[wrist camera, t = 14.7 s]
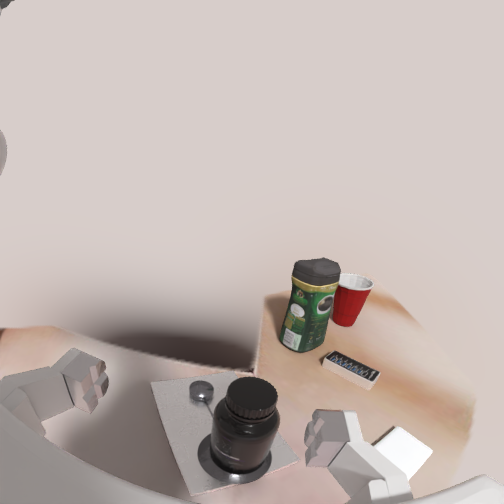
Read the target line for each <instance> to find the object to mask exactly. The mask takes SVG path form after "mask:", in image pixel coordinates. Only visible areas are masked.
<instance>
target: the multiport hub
mask: <svg viewBox="0 0 504 504" xmlns="http://www.w3.org/2000/svg"><path fill="white" fill-rule="evenodd" d="M322 367H324V368H326V369H328V370H329V371H331V372H333V373H335V374H337V375H339V376H341V377H343V378H345V379H346V380H348V381H350V382H352V383H354V384H356V385H358V386H360V387H362V388H364V389H366V390H370V389H371V388H372V387H373V385H374V384H375V383H376V382H377V380H378V378H379V375H380V372H379V371H377V370H375V369H373V368H371V367H369V366H366V365H364V364H362V363H360V362H358V361H356V360H354V359H352V358H350V357H348V356H346V355H344V354H342V353H340V352H338V351H333V352H331V353H330V354H329V355H327V356H326V357H325V358H324V361H323V364H322Z"/></svg>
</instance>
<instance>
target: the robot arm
mask: <svg viewBox="0 0 504 504" xmlns="http://www.w3.org/2000/svg"><path fill="white" fill-rule="evenodd" d="M11 1H14V0H0V14H1V11H2V9H3V8H5V7H7V6H8V5H9V3H10V2H11ZM6 156H7V145H6V140H5V137H4V135H3V133H2V132H1V130H0V175H1V173H2V171H3V169H4V165H5V162H6ZM105 369H106V365H105V362H104V361H102V360H100V359H98V358H96V357H93V356H91V355H89V354H87V353H85V352H82V351H80V350H78V349H76V348H72V349H70V350H69V351H68V352H67V353H66V354H65V355H64V356H63V357H62V358H60V359H59V360H58V361H57V362H56V363H55V364H54V365H53V366H52V367H51V368H50V367H44V368H40V369H35V370H31V371H27V372H22V373H18V374H13V375H9V376H5V377H4V378H3V379H1V380H0V504H199V503H194V502H190V501H186V500H182V499H179V498H175V497H171V496H168V495H165V494H161V493H158V492H155V491H152V490H149V489H146V488H144V487H141V486H138V485H136V484H133V483H130V482H128V481H125V480H123V479H121V478H118V477H116V476H114V475H111V474H109V473H107V472H105V471H103V470H101V469H99V468H97V467H95V466H93V465H91V464H89V463H87V462H85V461H83V460H81V459H79V458H77V457H76V456H74V455H72V454H70V453H69V452H67V451H65V450H64V449H62V448H60V447H59V446H57V445H55V444H54V443H52V442H51V441H49V440H48V439H46V438H45V437H44V435H45V434H46V431H45V429H44V427H43V425H42V424H41V421H44V420H46V419H48V418H51V417H53V416H55V415H57V414H60V413H62V412H64V411H66V410H68V409H71V408H73V407H74V406H75V407H77V408H79V409H81V410H83V411H86V412H88V413H90V414H91V413H92V411H93V410H94V409H95V407H96V406H97V404H98V398H101V397H103V396H104V395H105V393H106V391H107V388H108V383H109V380H108V376H107V375H106V373H105V372H104V370H105ZM312 418H313V420H312V421H311V422H309V423H308V425H307V427H306V431H305V437H304V442H305V445H306V446H307V447H308V449H307V451H306V453H305V458H306V467H328V470H329V471H330V472H331V474H332V475H333V476H334V478H335V479H336V480H337V481H338V483H339V484H340V485H341V486H342V488H343V489H344V490H345V491H346V493H347V494H348V495H349V496H350V498H351V499H350V500H348V501H347V502H346V503H345V504H504V485H503V484H501V483H500V482H498V481H496V480H495V479H493V478H491V477H489V476H487V475H479V476H476V477H474V478H471V479H469V480H467V481H465V482H462V483H460V484H457V485H455V486H452V487H450V488H447V489H444V490H441V491H439V492H436V493H433V494H429V495H426V496H423V497H420V498H416V499H413V495H412V492H411V488H410V485H409V482H408V479H407V475H406V474H405V473H404V472H403V471H402V470H400V469H399V468H398V467H397V466H396V465H394V464H393V463H392V462H391V461H390V460H388V459H387V458H386V457H385V456H384V455H382V454H381V453H380V452H379V451H378V450H377V449H375V448H374V447H373V446H372V445H371V444H370V443H369V442H364V440H363V436H362V432H361V429H360V425H359V422H358V418H357V415H356V412H355V411H354V410H323V409H316V410H315V411H314V413H313V415H312Z"/></svg>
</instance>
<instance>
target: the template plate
mask: <svg viewBox="0 0 504 504" xmlns="http://www.w3.org/2000/svg"><path fill="white" fill-rule="evenodd" d="M236 379H239V378H238V377H237V375H236V374H235V372H234V371H228V372H223V373H217V374H211V375H204V376H198V377H191V378H183V379H175V380H166V381H156V382H150V383H151V388H152V392H153V395H154V399H155V402H156V405H157V409H158V412H159V415H160V418H161V421H162V424H163V427H164V430H165V433H166V436H167V439H168V441H169V444H170V447H171V450H172V452H173V455H174V457H175V460H176V462H177V465H178V467H179V470H180V472H181V475H182V477H183V479H184V481H185V484H186V486H187V488H188V490H189V493H190V495H191V496H196V495H200V494H205V493H209V492H213V491H217V490H221V489H225V488H229V487H232V486H236V485H239V484H244V483H249V482H253V481H255V480H257V479H259V478H261V477H263V476H266V475H268V474H271V473H274V472H276V471H279V470H281V469H284V468H286V467H289V466H291V465H293V464H296V463H298V462H299V460H300V459H299V457H298V456H297V455H296V454H295V453H294V451H293V450H292V449H291V448H290V446H289V445H288V444H287V443H286V442H285V440H284V439H283V438H282V436H281V435H280V434H279V433H278V431H277V433H276V436H275V438H274V441H273V443H272V446H271V448H270V451H269V453H268V455H267V458H266V460H265V462H264V464H263V465H262V466H261V467H260V468H259V469H258V470H256V471H254V472H252V473H249V474H244V475H237V474H231V473H228V472H225V471H223V470H221V469H220V468H219V467H217V466H216V465H215V463H214V462H213V461H212V459H211V456H210V440H211V430H212V421H213V413H214V409H215V407H216V405H217V404H218V402H219V401H220V400H221V399H223V398H224V397H226V393H227V389H228V386H229V385H230V383H231V382H233V381H234V380H236Z"/></svg>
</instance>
